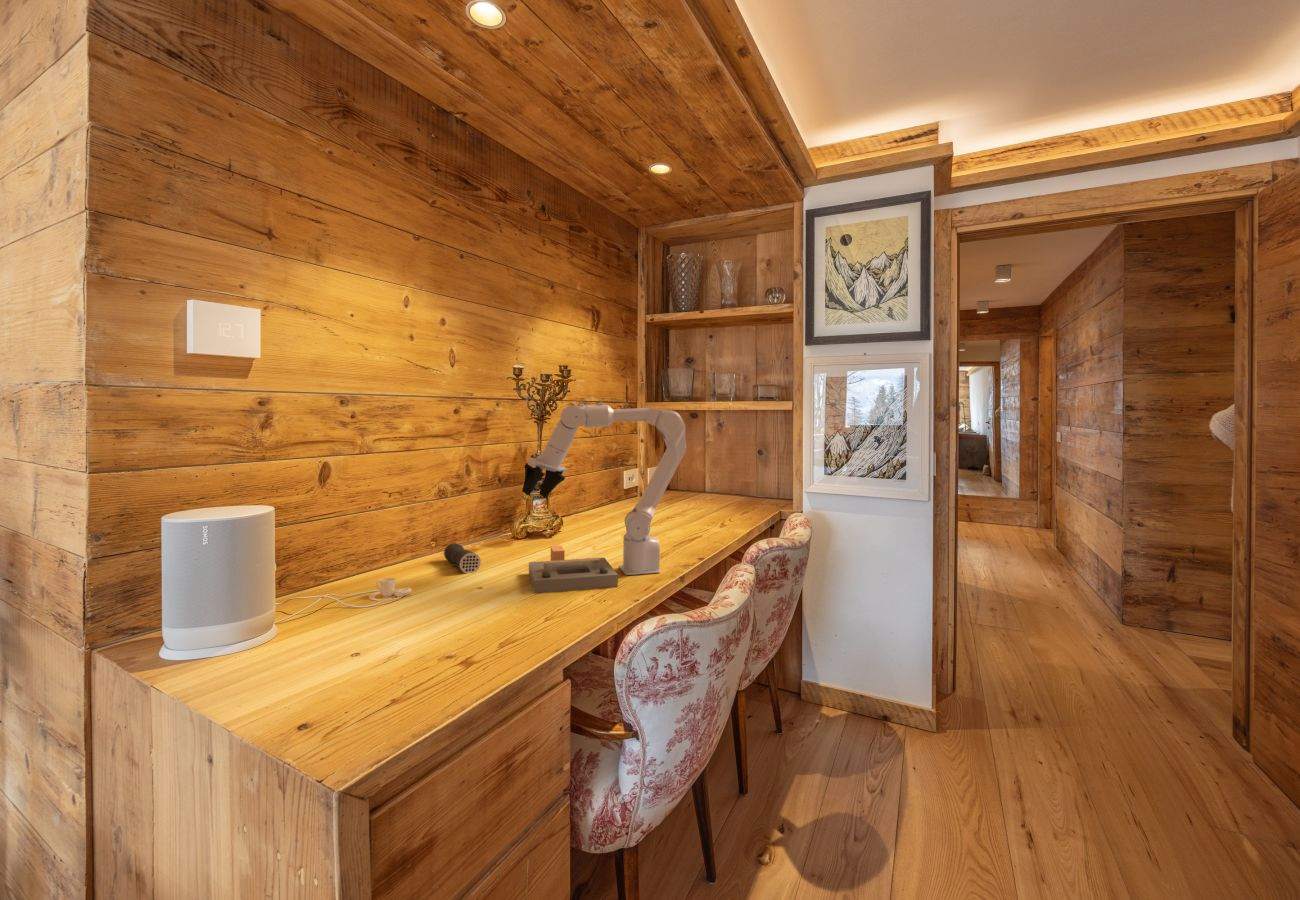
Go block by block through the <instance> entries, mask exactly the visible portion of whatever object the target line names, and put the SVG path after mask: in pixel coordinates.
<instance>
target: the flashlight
mask: <svg viewBox="0 0 1300 900" xmlns="http://www.w3.org/2000/svg"><path fill="white" fill-rule="evenodd" d="M443 555H444V558H445V559H446V561H448V562H450V563H453V564H454V565H455V566H456V567H457V568H458V569H459V570H460V571H461V572H462V573H463V574H466V575H467V574H473V573H476V572H477V571H478V570H479V569H480V567H481V563H482V561H481V558H480V556H479V555H478V554H477V553H475V552H473V551H471V550H468V549H465V548H464V546H462V545H461V544H460V543H456V542H453V543H450V544H448V545H447V546H445V549H444V551H443Z"/></svg>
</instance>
